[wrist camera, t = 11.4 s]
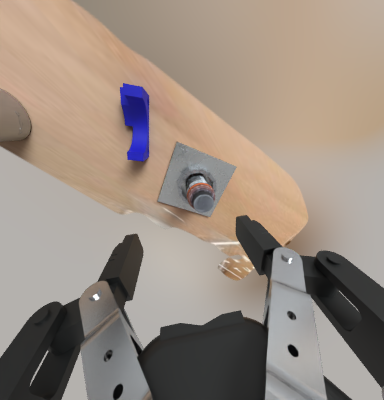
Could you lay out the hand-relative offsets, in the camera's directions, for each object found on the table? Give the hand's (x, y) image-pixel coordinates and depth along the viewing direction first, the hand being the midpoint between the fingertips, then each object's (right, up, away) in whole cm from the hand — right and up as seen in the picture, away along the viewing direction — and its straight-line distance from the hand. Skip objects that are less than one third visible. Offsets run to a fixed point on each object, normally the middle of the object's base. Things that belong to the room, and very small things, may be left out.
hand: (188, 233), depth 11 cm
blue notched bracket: (-11, +19, +19) cm, 29 cm away
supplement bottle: (+1, +7, +25) cm, 26 cm away
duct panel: (+1, +7, +26) cm, 27 cm away
